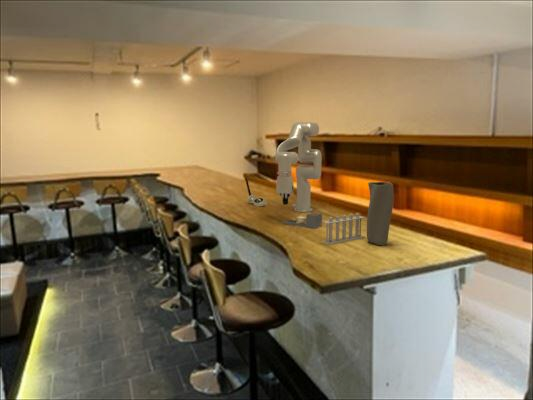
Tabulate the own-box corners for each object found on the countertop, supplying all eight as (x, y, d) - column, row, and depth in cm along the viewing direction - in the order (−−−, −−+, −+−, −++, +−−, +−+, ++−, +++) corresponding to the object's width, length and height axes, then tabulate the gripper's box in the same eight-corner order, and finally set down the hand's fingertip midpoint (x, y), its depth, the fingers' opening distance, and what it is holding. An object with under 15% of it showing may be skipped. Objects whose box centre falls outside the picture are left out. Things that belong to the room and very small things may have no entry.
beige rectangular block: (296, 225, 243) (296, 217, 243) (299, 224, 246) (299, 216, 245) (313, 228, 236) (313, 219, 235) (316, 227, 239) (316, 218, 238)
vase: (384, 239, 211) (386, 181, 206) (395, 245, 199) (398, 184, 194) (361, 240, 209) (363, 182, 204) (371, 247, 197) (374, 185, 192)
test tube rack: (327, 245, 202) (327, 218, 199) (321, 243, 205) (322, 217, 203) (364, 238, 214) (365, 213, 212) (358, 236, 218) (359, 211, 216)
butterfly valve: (269, 205, 305) (255, 200, 318) (264, 181, 297) (250, 176, 310) (260, 210, 301) (246, 204, 314) (254, 185, 292) (241, 181, 305)
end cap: (306, 227, 237) (306, 214, 236) (312, 224, 244) (312, 212, 242) (315, 228, 234) (315, 216, 233) (321, 226, 240) (321, 213, 239)
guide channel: (282, 224, 246) (282, 221, 246) (287, 221, 252) (287, 219, 251) (307, 227, 238) (307, 224, 237) (311, 225, 243) (311, 222, 243)
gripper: (271, 174, 245) (271, 204, 249) (293, 175, 237) (293, 206, 241) (277, 172, 251) (278, 201, 255) (299, 174, 243) (299, 204, 247)
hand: (285, 204), depth 248 cm, fingers closed
